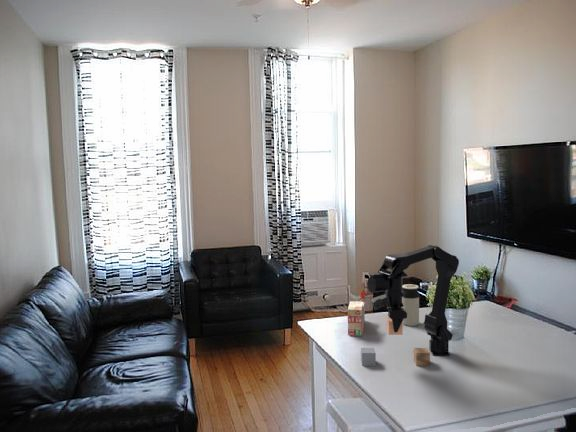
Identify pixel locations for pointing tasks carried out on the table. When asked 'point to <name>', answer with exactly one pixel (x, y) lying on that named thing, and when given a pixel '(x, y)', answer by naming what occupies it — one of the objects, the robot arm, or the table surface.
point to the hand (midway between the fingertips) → (394, 329)
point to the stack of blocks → (356, 318)
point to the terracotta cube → (391, 329)
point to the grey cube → (368, 357)
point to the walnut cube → (421, 357)
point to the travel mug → (411, 304)
